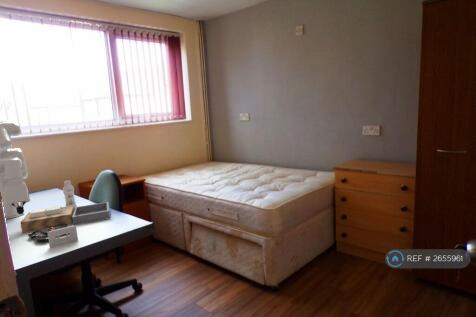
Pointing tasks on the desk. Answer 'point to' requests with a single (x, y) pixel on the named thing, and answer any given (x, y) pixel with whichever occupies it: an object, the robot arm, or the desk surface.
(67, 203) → the plastic bottle
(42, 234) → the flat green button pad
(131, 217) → the desk surface
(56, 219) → the wooden block
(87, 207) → the bin
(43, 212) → the tile cream
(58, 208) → the tile sage
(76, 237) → the cassette
